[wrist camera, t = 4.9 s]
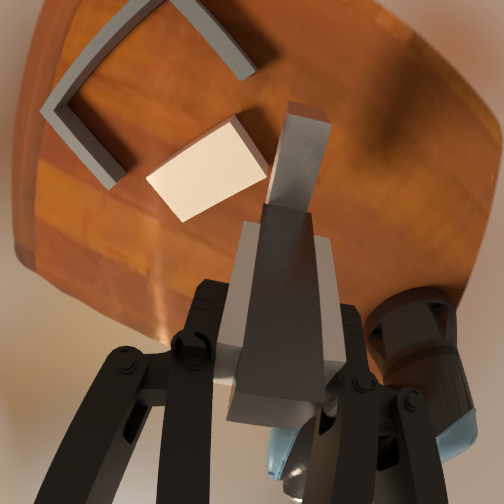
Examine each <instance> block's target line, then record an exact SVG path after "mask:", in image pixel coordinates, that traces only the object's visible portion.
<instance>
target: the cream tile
mask: <svg viewBox="0 0 504 504" xmlns="http://www.w3.org/2000/svg"><path fill="white" fill-rule="evenodd" d="M267 173H268V164H267V162H266V161H265V159H264V158H263V156H262V155H261V153H260V152H259V150H258V149H257V147H256V146H255V144H254V142H253V141H252V139H251V138H250V137H249V135H248V134H247V132H246V131H245V129H244V128H243V126H242V125H241V123H240V122H239V120H238V119H237V117H236V116H235V115H233V116H232V117H230V118H228V119H227V120H225V121H223V122H222V123H220V124H218V125H217V126H215V127H214V128H212V129H211V130H209V131H207V132H206V133H204V134H203V135H201V136H200V137H198V138H197V139H195V140H194V141H192V142H191V143H189V144H188V145H186V146H185V147H183V148H182V149H180V150H179V151H177V152H176V153H174V154H173V155H172V156H170V157H169V158H167V159H166V160H164V161H163V162H162V163H160V164H159V165H158V166H156V167H155V168H154V169H153V170H152V172H151V173H150V174H149V175H148V176H147V177H146V179H147V180H148V182H149V183H150V184H151V185H152V186H153V188H154V189H155V190H156V191H157V193H158V194H159V195H160V196H161V197H162V199H163V200H164V201H165V202H166V203H167V205H168V206H169V207H170V208H171V210H172V211H173V212H174V213H175V214H176V215H177V217H178V218H179V219H180V220H181V221H182V223H183V222H184V221H186V220H188V219H190V218H192V217H193V216H195V215H197V214H199V213H200V212H202V211H204V210H206V209H208V208H210V207H211V206H213V205H215V204H217V203H219V202H221V201H222V200H224V199H226V198H228V197H230V196H232V195H234V194H235V193H237V192H239V191H241V190H243V189H245V188H247V187H249V186H251V185H253V184H255V183H256V182H258V181H260V180H262V179H264V178H266V177H267Z"/></svg>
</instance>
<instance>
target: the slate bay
mask: <svg viewBox="0 0 504 504" xmlns="http://www.w3.org/2000/svg"><path fill="white" fill-rule="evenodd" d="M163 1H165V0H130V1H129V2H128V3H127V4H126V5H125V6H124V7H123V8H122V9H121V10H119V11H118V12H117V13H116V15H115V16H114V17H113V18H112V19H111V20H110V21H109V22H108V23H107V24H106V25H105V26H104V27H103V28H102V29H101V30H100V31H99V33H98V34H97V35H96V36H95V37H94V38H93V39H92V40H91V42H90V43H89V44H88V45H87V46H86V48H85V49H84V50H83V51H82V52H81V54H80V55H79V56H78V57H77V59H76V60H75V61H74V62H73V64H72V65H71V66H70V68H69V69H68V70H67V72H66V73H65V74H64V76H63V77H62V79H61V80H60V81H59V83H58V84H57V86H56V87H55V89H54V90H53V91H52V93H51V94H50V96H49V97H48V99H47V101H46V102H45V104H44V105H43V107H42V108H41V110H40V112H41V114H42V115H43V116H44V117H45V119H46V120H47V121H48V122H49V123H50V125H51V126H52V127H53V128H54V129H55V131H56V132H57V133H58V134H59V135H60V137H61V138H62V139H63V140H64V141H65V142H66V144H67V145H68V146H69V147H70V148H71V149H72V150H73V152H74V153H75V154H76V155H77V156H78V157H79V159H80V160H81V161H82V162H83V163H84V164H85V165H86V166H87V168H88V169H89V170H90V171H91V172H92V173H93V174H94V175H95V176H96V178H97V179H98V180H99V181H100V182H101V183H102V184H103V185H104V186H105V187H106V189H107V190H108V191H109V190H110V189H111V188H112V187H113V186H114V185H115V184H116V183H117V182H118V181H119V180H120V179H121V178H122V177H123V176H124V175H125V174H126V171H125V170H124V169H123V168H122V167H121V166H120V165H119V164H118V163H117V161H116V160H115V159H114V158H113V157H112V156H111V155H110V154H109V152H108V151H107V150H106V149H105V148H104V147H103V146H102V145H101V143H100V142H99V141H98V140H97V139H96V138H95V137H94V135H93V134H92V133H91V132H90V131H89V130H88V128H87V127H86V126H85V125H84V124H83V123H82V122H81V120H80V119H79V118H78V117H77V116H76V114H75V113H74V112H73V111H72V110H71V109H70V107H69V106H68V105H67V104H68V102H69V101H70V99H71V98H72V97H73V95H74V94H75V93H76V92H77V90H78V89H79V88H80V86H81V85H82V84H83V83H84V81H85V80H86V79H87V78H88V77H89V75H90V74H91V73H92V72H93V71H94V69H95V68H96V67H97V66H98V65H99V64H100V62H101V61H102V60H103V59H104V58H105V57H106V56H107V55H108V54H109V53H110V51H111V50H112V49H113V48H114V47H115V46H116V45H117V44H118V43H119V42H120V41H121V40H122V39H123V38H124V37H125V36H126V35H127V34H128V33H129V32H130V31H131V30H132V29H133V28H134V27H135V26H136V25H137V24H138V23H139V22H141V21H142V20H143V19H144V18H145V17H146V16H147V15H148V14H149V13H150V12H152V11H153V10H154V9H155V8H156V7H157V6H159V5H160V4H161V3H162V2H163ZM170 1H171V2H172V3H173V4H174V5H175V6H176V8H177V9H178V10H179V11H180V12H181V13H182V14H183V15H184V16H185V17H186V18H187V19H188V20H189V21H190V23H191V24H192V25H193V26H194V27H195V28H196V29H197V30H198V31H199V33H200V34H201V35H202V36H203V37H204V38H205V39H206V41H207V42H208V43H209V44H210V45H211V46H212V48H213V49H214V50H215V51H216V52H217V53H218V55H219V56H220V57H221V58H222V59H223V61H224V62H225V63H226V64H227V65H228V67H229V68H230V69H231V70H232V72H233V73H234V74H235V75H236V77H237V78H238V79H239V80H240V82H241V81H242V80H244V79H245V78H247V77H248V76H250V75H251V74H253V73H254V72H256V71H257V70H258V69H257V67H256V66H255V65H254V63H253V62H252V61H251V60H250V58H249V57H248V56H247V55H246V53H245V52H244V51H243V50H242V49H241V47H240V46H239V45H238V44H237V42H236V41H235V40H234V39H233V38H232V37H231V35H230V34H229V33H228V32H227V31H226V30H225V28H224V27H223V26H222V25H221V24H220V23H219V22H218V20H217V19H216V18H215V17H214V16H213V15H212V14H211V13H210V12H209V10H208V9H207V8H206V7H205V6H204V5H203V4H202V3H201V2H200V1H199V0H170Z"/></svg>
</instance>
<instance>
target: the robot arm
mask: <svg viewBox="0 0 504 504" xmlns="http://www.w3.org/2000/svg"><path fill="white" fill-rule="evenodd" d="M259 231H260V224H258V223H253V222H248V221H244V223H243V227H242V232H241V236H240V240H239V245H238V249H237V254H236V258H235V262H234V267H233V271H232V276H231V280H230V284H228V283H223V282H218V281H213V280H208V279H205V280H204V281H203V282H202V283H201V284H200V285H199V286H198V287H197V289H196V292H195V295H194V298H193V301H192V304H191V308H190V310H189V313H188V316H187V320H186V323H185V326H184V329H183V330H181V331H179V332H178V333H177V334H176V335H175V336H173V339H172V341H171V350H170V351H167V352H164V353H158V354H143V353H142V352H141V351H140V350H138V349H137V348H135V347H131V346H122V347H118V348H116V349H114V350H113V351H112V352H111V353H110V354H109V355H108V356H107V358H106V360H105V362H104V363H103V365H102V367H101V369H100V370H99V372H98V374H97V376H96V377H95V379H94V381H93V383H92V385H91V387H90V388H89V390H88V392H87V394H86V396H85V397H84V400H83V401H82V403H81V405H80V407H79V409H78V411H77V412H76V414H75V416H74V419H73V420H72V422H71V424H70V426H69V428H68V430H67V432H66V434H65V436H64V438H63V440H62V442H61V444H60V446H59V448H58V450H57V452H56V455H55V457H54V459H53V461H52V463H51V465H50V467H49V469H48V472H47V474H46V476H45V478H44V481H43V483H42V485H41V487H40V490H39V492H38V494H37V497H36V499H35V502H34V504H112V502H113V499H114V497H115V494H116V492H117V489H118V487H119V484H120V482H121V479H122V477H123V474H124V472H125V470H126V467H127V465H128V462H129V460H130V457H131V455H132V452H133V450H134V448H135V445H136V443H137V441H138V439H139V436H140V434H141V431H142V429H143V427H144V425H145V422H146V420H147V418H148V415H149V413H150V411H151V408H152V406H165V412H164V420H163V428H162V438H161V448H160V458H159V470H158V482H157V483H158V484H157V497H156V504H209V494H210V493H209V492H210V490H209V489H210V450H211V449H210V448H211V421H212V398H213V383H219V384H224V385H229V386H232V382H233V378H234V375H235V371H236V367H237V363H238V360H239V356H240V352H241V348H242V347H243V340H244V334H245V327H246V320H247V313H248V307H249V300H250V293H251V286H252V279H253V273H254V266H255V259H256V252H257V245H258V238H259ZM314 243H315V253H316V263H317V273H318V285H319V297H320V310H321V324H322V340H323V360H324V374H325V404H324V405H323V406H322V407H321V408H320V409H319V410H318V411H317V412H316V413H315V414H314V415H313V416H312V417H311V418H310V419H309V420H308V421H307V422H306V423H305V424H304V425H303V426H302V427H301V428H300V429H299V430H298V429H286V428H276V427H272V429H271V433H270V439H269V444H268V453H267V468H268V471H269V472H268V474H269V476H270V478H272V479H275V480H277V481H280V480H283V492H284V495H285V496H286V497H288V498H289V499H291V500H292V501H294V502H295V503H296V504H373V503H374V504H448V497H447V491H446V485H445V480H444V474H443V470H442V463H444V462H446V461H448V460H450V459H452V458H454V457H455V456H457V455H459V454H461V453H462V452H464V451H465V450H467V449H468V448H470V447H471V446H472V445H473V443H474V442H475V440H476V438H477V435H478V429H477V421H476V415H475V412H476V409H475V408H474V404H473V400H472V397H471V393H470V389H469V385H468V382H467V378H466V375H465V372H464V368H463V365H462V362H461V359H460V356H459V353H458V350H457V321H456V311H455V308H454V306H453V303H452V301H451V299H450V297H449V296H448V295H447V294H446V293H445V292H443V291H441V290H438V289H434V288H418V289H413V290H409V291H406V292H403V293H400V294H398V295H396V296H393V297H392V298H390V299H388V300H386V301H385V302H383V303H382V304H381V305H379V306H378V307H377V308H376V309H375V310H374V311H373V312H372V313H371V314H370V315H369V317H368V318H367V320H366V322H365V325H364V329H362V322H361V317H360V314H359V313H358V311H357V309H356V308H355V306H353V305H347V304H341V303H339V296H338V289H337V282H336V276H335V269H334V263H333V257H332V251H331V245H330V239H329V238H324V237H320V236H315V235H314ZM363 332H364V334H363ZM363 335H364V337H363ZM364 339H365V340H364ZM365 344H366V346H365ZM366 347H367V350H368V351H369V353H370V355H371V356H372V358H373V360H374V362H375V363H376V365H377V367H378V369H379V370H380V372H381V374H382V378H383V384H384V386H383V385H381V384H379V383H378V380H377V379H376V377H375V375H374V374H373V373H371V372H370V370H369V366H368V359H367V353H366Z"/></svg>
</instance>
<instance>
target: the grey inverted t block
mask: <svg viewBox="0 0 504 504" xmlns="http://www.w3.org/2000/svg"><path fill="white" fill-rule="evenodd" d="M331 126H332V124H331V122H330V121H329V119H328V117H327V116H326V114H325V113H324V111H323V110H322V108H318V107H314V106H310V105H306V104H301V103H297V102H292V101H288V100H287V105H286V110H285V114H284V119H283V123H282V128H281V133H280V137H279V142H278V146H277V151H276V156H275V160H274V165H273V169H272V174H271V179H270V183H269V188H268V192H267V197H266V201H265V203H263V206H262V211H261V216H260V220H259V224H260V231H259V238H258V245H257V252H256V259H255V266H254V273H253V279H252V286H251V293H250V300H249V307H248V313H247V320H246V327H245V334H244V340H243V347H242V348H241V352H240V356H239V360H238V363H237V367H236V371H235V375H234V378H233V382H232V388H231V394H230V399H229V406H228V412H227V418H226V420H227V421H232V422H238V423H245V424H252V425H260V426H267V427H276V428H286V429H298V430H299V429H300V428H301V427H302V426H303V425H304V424H305V423H306V422H307V421H308V420H309V419H310V418H311V417H312V416H313V415H314V414H315V413H316V412H317V411H318V410H319V409H320V408H321V407H322V406H323V405H324V404H325V374H324V360H323V340H322V324H321V310H320V297H319V285H318V273H317V263H316V253H315V243H314V233H313V224H312V216H311V213H308V212H307V209H308V205H309V202H310V199H311V196H312V192H313V189H314V185H315V182H316V179H317V175H318V172H319V168H320V165H321V161H322V158H323V154H324V151H325V147H326V144H327V140H328V137H329V133H330V129H331Z"/></svg>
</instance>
